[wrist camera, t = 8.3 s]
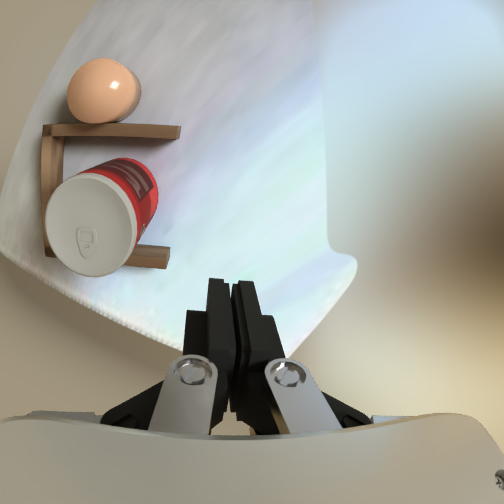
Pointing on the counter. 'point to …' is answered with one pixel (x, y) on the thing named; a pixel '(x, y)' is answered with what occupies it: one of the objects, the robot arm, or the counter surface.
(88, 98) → the peach egg shape
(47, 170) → the wooden u-shaped frame
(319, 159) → the counter surface
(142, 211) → the canned food
